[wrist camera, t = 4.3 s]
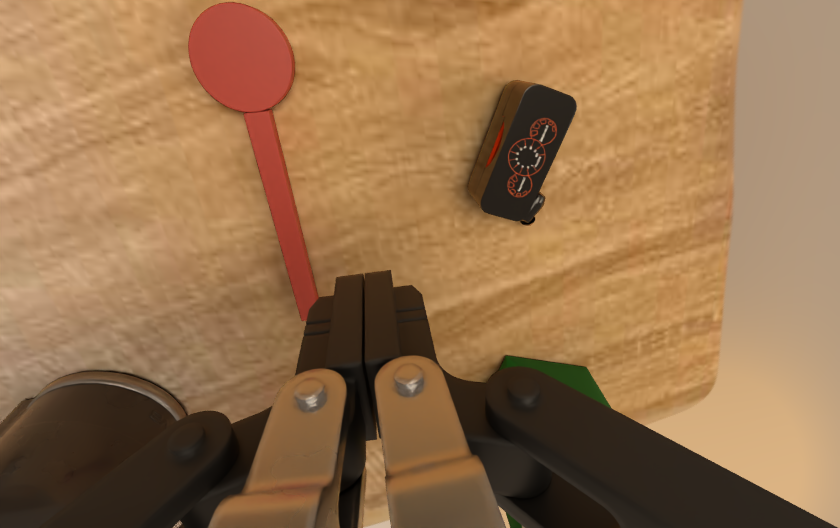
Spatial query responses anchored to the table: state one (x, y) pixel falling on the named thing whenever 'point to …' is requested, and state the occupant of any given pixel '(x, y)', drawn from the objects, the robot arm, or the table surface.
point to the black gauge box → (520, 150)
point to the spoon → (256, 111)
